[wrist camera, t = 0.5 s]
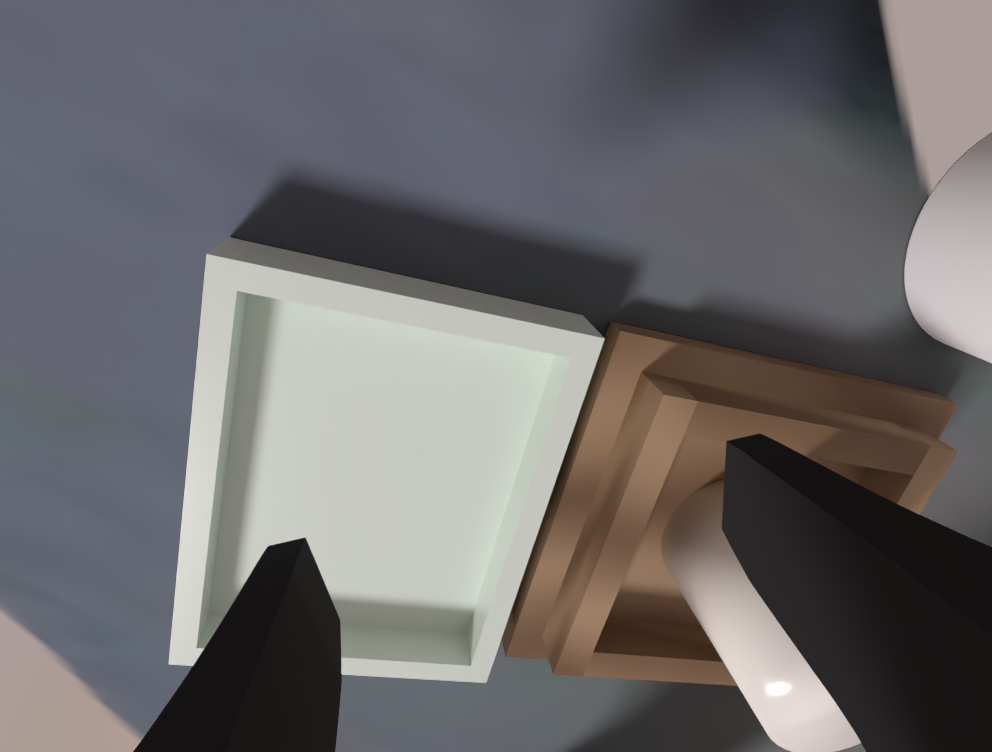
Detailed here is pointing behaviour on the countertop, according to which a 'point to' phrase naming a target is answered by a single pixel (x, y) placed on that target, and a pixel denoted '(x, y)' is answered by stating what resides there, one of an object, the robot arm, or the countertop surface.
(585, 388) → the tray
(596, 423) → the tray
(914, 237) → the cup
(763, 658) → the white rounded piece
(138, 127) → the countertop surface
